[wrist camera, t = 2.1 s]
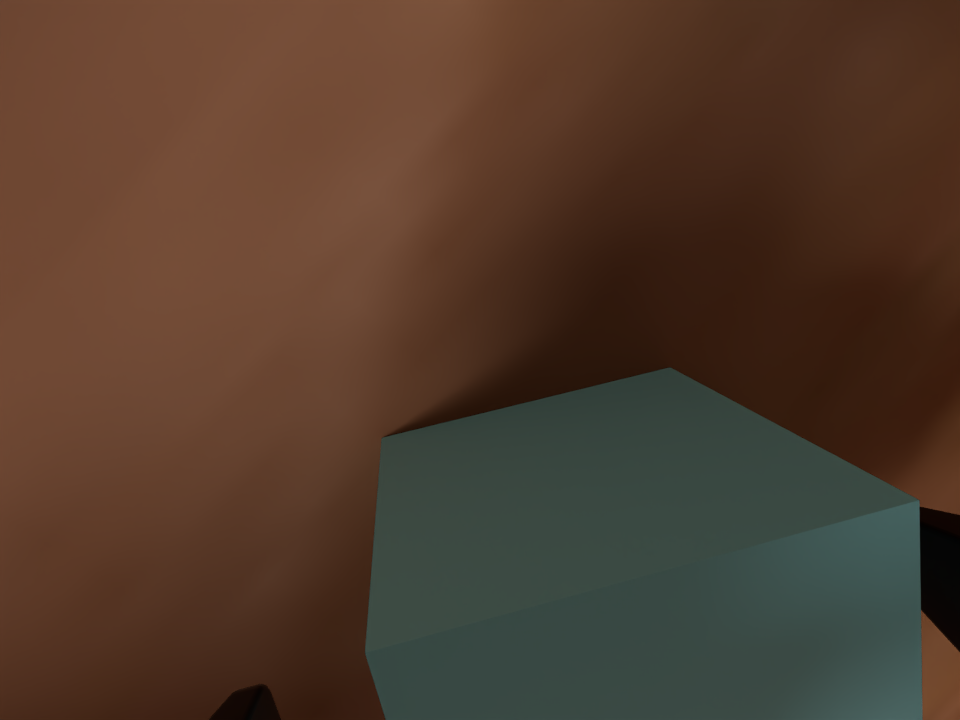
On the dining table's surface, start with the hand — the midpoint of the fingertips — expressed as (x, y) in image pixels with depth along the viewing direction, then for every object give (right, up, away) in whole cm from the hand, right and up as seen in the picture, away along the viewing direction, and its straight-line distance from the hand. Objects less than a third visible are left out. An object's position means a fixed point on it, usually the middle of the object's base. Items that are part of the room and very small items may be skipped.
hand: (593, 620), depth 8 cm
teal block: (0, +1, +2) cm, 2 cm away
